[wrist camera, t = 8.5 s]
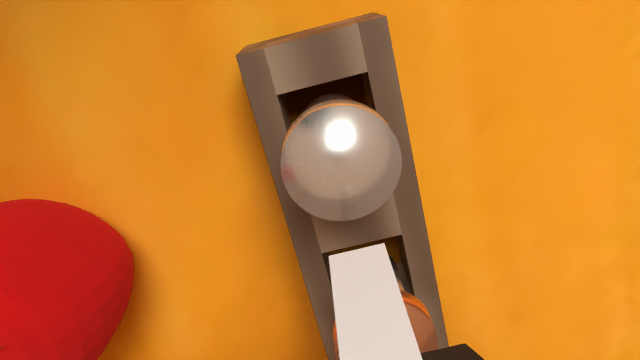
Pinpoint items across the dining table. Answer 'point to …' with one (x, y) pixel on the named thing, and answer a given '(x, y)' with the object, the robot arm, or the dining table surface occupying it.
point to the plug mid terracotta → (417, 318)
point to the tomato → (59, 281)
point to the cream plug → (340, 159)
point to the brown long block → (385, 98)
